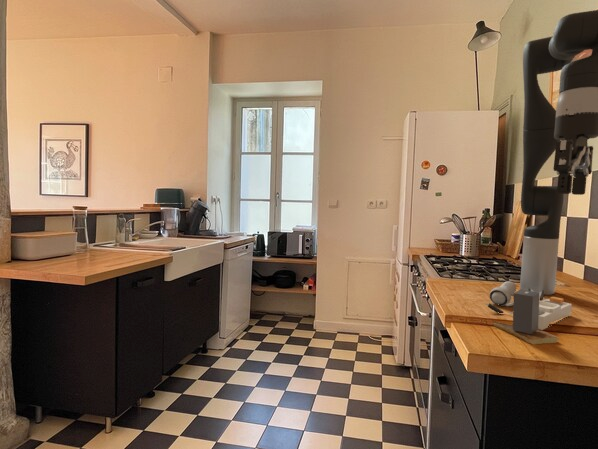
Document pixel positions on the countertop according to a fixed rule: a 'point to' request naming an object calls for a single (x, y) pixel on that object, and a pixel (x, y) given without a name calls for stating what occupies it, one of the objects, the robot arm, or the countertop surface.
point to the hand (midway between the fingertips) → (571, 194)
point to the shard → (535, 338)
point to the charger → (526, 311)
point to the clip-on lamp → (505, 295)
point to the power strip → (552, 311)
